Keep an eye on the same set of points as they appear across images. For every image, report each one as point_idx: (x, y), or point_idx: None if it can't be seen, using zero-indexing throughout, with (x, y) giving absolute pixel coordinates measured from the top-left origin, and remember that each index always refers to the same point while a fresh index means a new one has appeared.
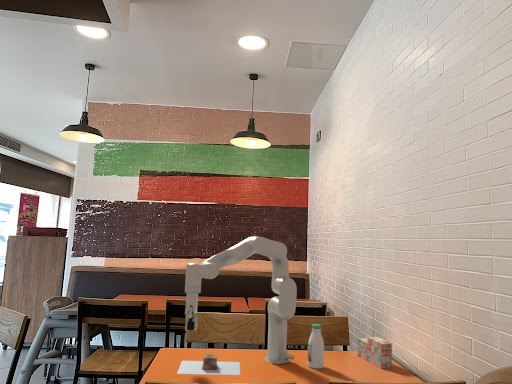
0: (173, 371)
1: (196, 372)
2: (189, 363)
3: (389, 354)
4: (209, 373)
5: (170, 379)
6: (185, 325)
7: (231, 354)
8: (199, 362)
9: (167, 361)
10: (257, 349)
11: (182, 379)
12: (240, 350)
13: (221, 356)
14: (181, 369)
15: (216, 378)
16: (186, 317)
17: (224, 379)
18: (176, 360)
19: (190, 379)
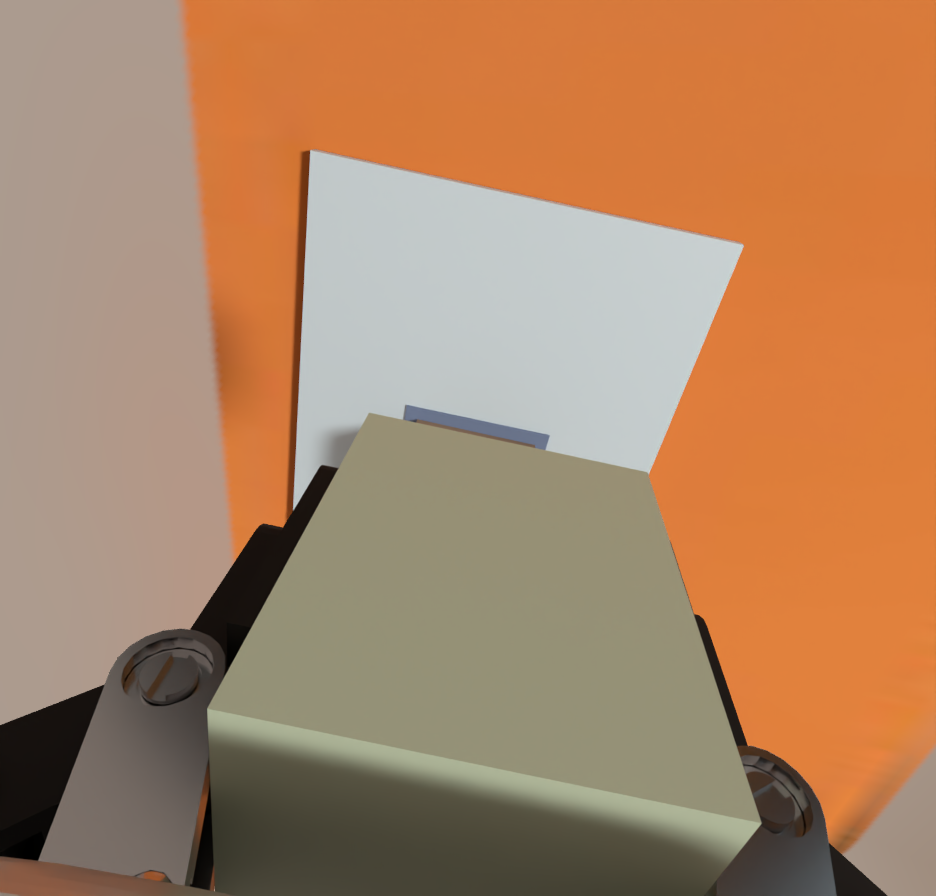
0: (432, 115)
1: (342, 354)
2: (618, 318)
3: None
4: (318, 453)
5: (187, 67)
6: (332, 484)
7: (796, 680)
8: (623, 417)
9: (828, 42)
10: (839, 831)
11: (200, 203)
12: (871, 749)
13: (773, 610)
14: (438, 213)
15: (246, 482)
16: (215, 721)
17: (230, 527)
18: (822, 175)
19: (207, 281)
